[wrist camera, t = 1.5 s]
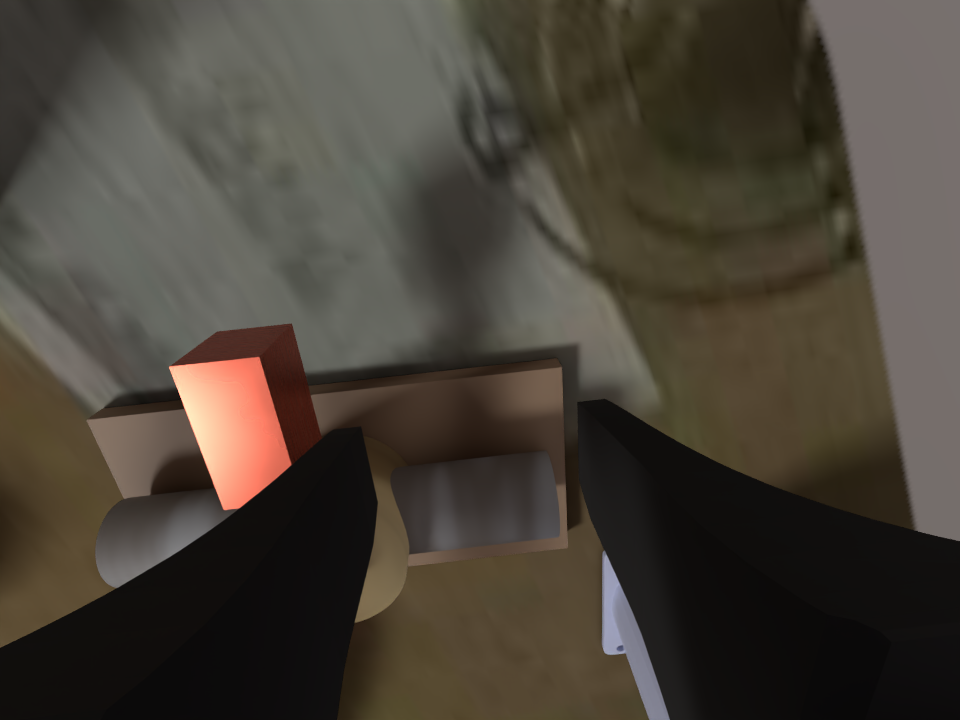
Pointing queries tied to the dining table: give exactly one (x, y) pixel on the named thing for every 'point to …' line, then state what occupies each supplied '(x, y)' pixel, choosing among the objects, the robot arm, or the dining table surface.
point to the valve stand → (394, 466)
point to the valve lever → (247, 407)
